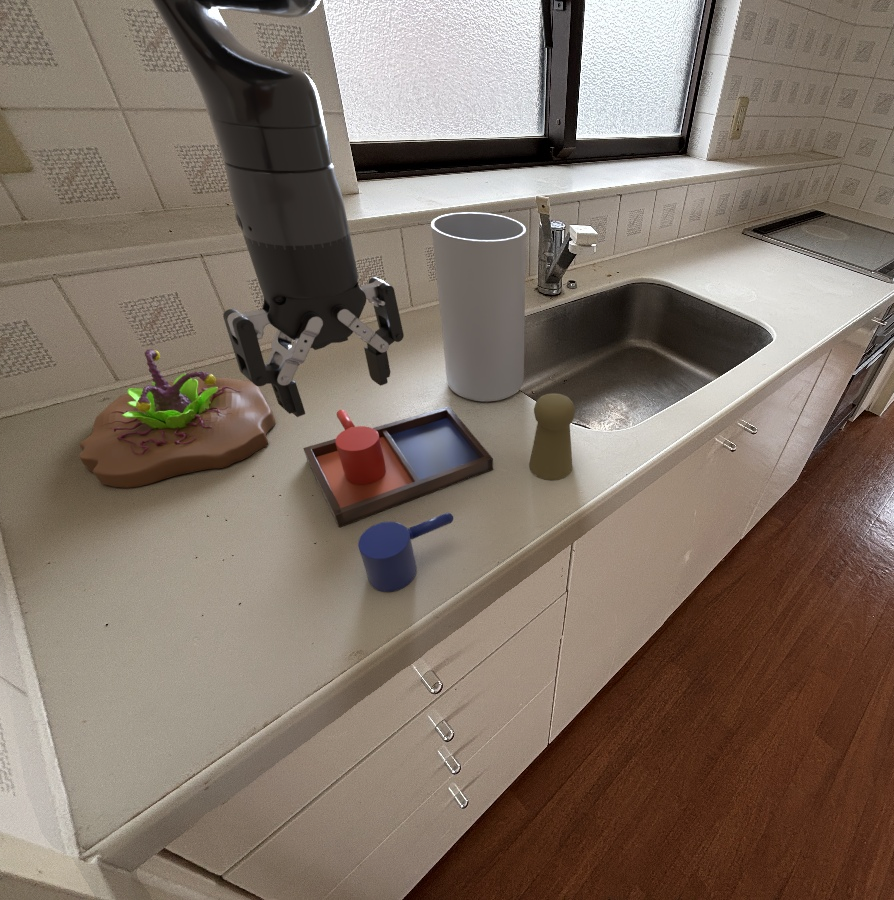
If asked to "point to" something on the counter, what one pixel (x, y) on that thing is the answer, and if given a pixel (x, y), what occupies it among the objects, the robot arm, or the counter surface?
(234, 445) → the plant
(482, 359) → the cylinder vase
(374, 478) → the red scoop
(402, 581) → the blue scoop
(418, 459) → the tray
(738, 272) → the counter surface
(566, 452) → the olive pawn figure
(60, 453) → the counter surface
